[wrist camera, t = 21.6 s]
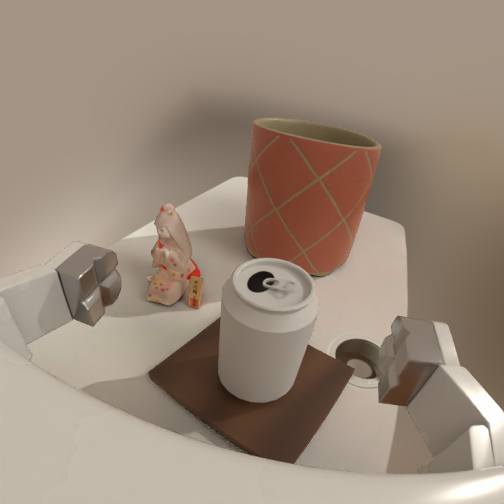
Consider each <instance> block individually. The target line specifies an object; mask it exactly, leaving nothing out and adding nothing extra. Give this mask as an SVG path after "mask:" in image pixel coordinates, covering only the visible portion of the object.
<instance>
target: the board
mask: <svg viewBox="0 0 504 504" xmlns="http://www.w3.org/2000/svg"><path fill="white" fill-rule="evenodd" d="M220 320H221V317H220V318H219V319H218V320H216V321H215V322H214V323H212V324H211V325H210V326H209V327H207V328H206V329H205V330H203V331H202V332H201V333H200V334H198V335H197V336H196V337H194V338H193V339H192V340H190V341H189V342H188V343H187V344H185V345H184V346H183V347H181V348H180V349H179V350H177V351H176V352H175V353H173V354H172V355H171V356H169V357H168V358H167V359H166V360H164V361H163V362H162V363H160V364H159V365H158V366H156V367H155V368H154V369H152V370H151V371H150V372H149V375H150V378H151V379H152V380H153V381H155V382H156V383H157V384H158V385H159V386H160V387H161V388H163V389H164V390H165V391H166V392H167V393H168V394H170V395H171V396H172V397H173V398H174V399H176V400H177V401H178V402H179V403H181V404H182V405H183V406H184V407H186V408H187V409H188V410H189V411H191V412H192V413H193V414H195V415H196V416H197V417H198V418H200V419H201V420H202V421H204V422H205V423H206V424H208V425H209V426H210V427H212V428H213V429H214V430H216V431H217V432H219V433H220V434H221V435H223V436H224V437H226V438H227V439H229V440H230V441H231V442H233V443H234V444H236V445H237V446H239V447H240V448H242V449H243V450H245V451H246V452H248V453H249V454H251V455H253V456H257V457H261V458H266V459H270V460H275V461H280V462H285V463H291V464H294V463H295V462H296V460H297V459H298V458H299V456H300V455H301V453H302V452H303V451H304V449H305V448H306V446H307V445H308V444H309V442H310V441H311V439H312V438H313V436H314V435H315V433H316V432H317V430H318V429H319V427H320V426H321V424H322V423H323V421H324V420H325V418H326V417H327V415H328V414H329V412H330V411H331V409H332V407H333V406H334V404H335V403H336V401H337V399H338V398H339V396H340V394H341V393H342V391H343V389H344V388H345V386H346V384H347V383H348V381H349V379H350V377H351V376H352V374H353V372H354V370H355V369H354V368H352V367H350V366H348V365H346V364H344V363H342V362H340V361H338V360H336V359H335V358H333V357H331V356H329V355H327V354H325V353H323V352H321V351H319V350H317V349H315V348H314V347H312V346H310V345H307V348H306V351H305V354H304V356H303V359H302V362H301V365H300V367H299V370H298V373H297V376H296V378H295V381H294V384H293V386H292V387H291V388H290V390H289V391H288V392H287V393H286V394H285V395H283V396H282V397H280V398H278V399H277V400H273V401H269V402H265V403H261V402H249V401H246V400H243V399H240V398H238V397H236V396H235V395H233V394H232V393H230V392H229V391H228V390H227V389H226V388H225V387H224V385H223V384H222V383H221V380H220V377H219V374H218V360H219V339H220Z"/></svg>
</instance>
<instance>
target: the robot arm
mask: <svg viewBox="0 0 504 504" xmlns="http://www.w3.org/2000/svg"><path fill="white" fill-rule="evenodd" d="M117 265H118V261H117V256H116V254H115V253H114V252H113V251H111V250H107V249H104V248H101V247H97V246H94V245H91V244H87V243H83V242H80V241H74V242H72V243H71V244H70V245H68V246H67V247H66V248H64V249H63V250H62V251H61V252H59V253H58V254H57V255H56V256H54V257H53V258H52V259H51V260H49V261H48V262H47V263H46V264H44V265H37V266H34V267H31V268H28V269H25V270H22V271H19V272H16V273H13V274H10V275H8V276H4V277H1V278H0V504H504V412H503V411H502V410H501V409H500V407H499V406H498V405H497V404H496V403H495V402H494V400H493V399H492V398H491V397H490V396H489V394H488V393H487V392H486V391H485V390H484V389H483V387H482V386H481V385H480V384H479V383H478V382H477V381H476V380H475V378H474V377H473V376H472V375H471V374H470V373H469V372H468V371H467V369H466V368H465V367H460V364H459V360H458V357H457V353H456V350H455V346H454V343H453V340H452V336H451V333H450V330H449V327H448V325H447V324H446V323H441V322H435V321H425V320H419V319H414V318H408V317H402V316H397V317H396V319H395V320H394V322H393V324H392V325H391V331H392V334H391V335H389V336H388V337H386V338H385V339H384V341H383V343H382V345H381V348H380V352H379V355H378V371H379V373H380V374H381V375H382V378H381V380H380V381H379V383H378V391H379V403H384V404H392V405H399V406H407V407H406V409H407V411H408V413H409V414H410V416H411V418H412V420H413V421H414V423H415V425H416V427H417V428H418V430H419V432H420V434H421V436H422V438H423V439H424V441H425V443H426V445H427V447H428V449H429V451H430V452H431V454H432V456H433V459H431V460H430V461H428V462H427V463H426V464H424V465H423V466H421V467H420V468H419V469H418V470H417V474H381V473H363V472H350V471H340V470H331V469H323V468H316V467H309V466H303V465H297V464H291V463H285V462H280V461H275V460H270V459H266V458H261V457H257V456H253V455H248V454H244V453H240V452H237V451H233V450H229V449H225V448H222V447H218V446H215V445H212V444H208V443H205V442H202V441H199V440H196V439H193V438H190V437H187V436H184V435H181V434H178V433H175V432H173V431H170V430H167V429H165V428H162V427H159V426H157V425H154V424H152V423H149V422H147V421H144V420H142V419H140V418H137V417H135V416H133V415H130V414H128V413H126V412H124V411H121V410H119V409H117V408H115V407H113V406H111V405H109V404H106V403H104V402H102V401H100V400H98V399H96V398H94V397H92V396H90V395H88V394H87V393H85V392H83V391H81V390H79V389H77V388H75V387H74V386H72V385H70V384H68V383H66V382H65V381H63V380H61V379H59V378H58V377H56V376H54V375H53V374H51V373H49V372H48V371H46V370H44V369H43V368H41V367H40V366H38V365H37V364H35V363H33V362H32V361H30V360H31V359H32V354H31V352H30V350H29V348H28V346H27V344H29V343H31V342H33V341H34V340H36V339H38V338H40V337H42V336H44V335H46V334H47V333H49V332H51V331H53V330H55V329H57V328H59V327H61V326H62V325H64V324H66V323H68V322H70V321H72V320H73V319H75V320H77V321H80V322H82V323H85V324H87V325H90V326H92V327H93V326H94V325H95V324H96V323H97V322H98V320H99V319H100V318H101V317H102V316H103V315H104V313H105V307H106V306H109V305H111V304H113V303H114V302H115V300H116V299H117V298H118V296H119V293H120V290H121V277H120V275H119V273H118V272H117V270H116V269H115V268H116V266H117Z"/></svg>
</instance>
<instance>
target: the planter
mask: <svg viewBox="0 0 504 504" xmlns="http://www.w3.org/2000/svg"><path fill="white" fill-rule="evenodd" d="M380 152H381V145H380V144H379V143H378V142H377V141H375V140H373V139H371V138H369V137H367V136H364V135H361V134H359V133H356V132H353V131H350V130H347V129H343V128H339V127H335V126H331V125H327V124H322V123H317V122H311V121H305V120H297V119H288V118H260V119H256V120H254V121H253V122H252V134H251V146H250V160H249V173H248V189H247V204H246V220H245V240H246V245H247V249H248V252H249V253H250V254H251V255H252V256H254V257H256V258H258V259H259V258H275V259H281V260H285V261H289V262H291V263H293V264H295V265H297V266H299V267H301V268H302V269H303V270H305V271H306V272H307V273H308V274H309V275H316V276H327V275H328V274H330V273H331V272H332V271H333V270H334V269H336V268H337V267H339V266H341V265H342V264H343V263H344V262H345V261H346V260H347V258H348V256H349V254H350V251H351V248H352V245H353V242H354V239H355V236H356V233H357V230H358V227H359V224H360V221H361V218H362V215H363V211H364V208H365V205H366V202H367V199H368V195H369V192H370V189H371V185H372V182H373V178H374V174H375V171H376V167H377V163H378V159H379V155H380Z"/></svg>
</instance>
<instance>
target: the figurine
mask: <svg viewBox="0 0 504 504" xmlns="http://www.w3.org/2000/svg"><path fill="white" fill-rule="evenodd" d="M154 224H155V225H156V228H157V233H158V235H159V240H158V241H157V243H156V244H155V246H154V247H153V249H152V250H151V254H152V257H153V258H154V261H153V265H152V266H153V267H160V269H159V270H158V273H157V274H156V276H152V275H149V276H147V277H146V280H147V281H150V285H149V290H148V292H147V298H146V299H147V300H148V301H153V302H159V303H161V304H164V305H167V306H170V305H172V304H173V303H175V302H176V301H177V300H178V299H180V297H181V296H182V295H183V293H184V292H185V290H186V288H187V286H188V284H189V281H190V290H189V301H188V305H189V306H191V307H194V308H197V309H199V308H200V301H201V292H202V283H203V279H202V278H200V275H201V274H200V271H199V269H198V267H197V266H196V264H195V263H194V261H193V260H192V259H190V257H191V256H192V248H191V244H190V240H189V237H188V234H187V231H186V229H185V226H184V224H183V222H182V220H181V218H180V217H179V215H178V214H177V212H176V211H175V208H174V206H173V205H172V204H164V205H163V206H162V207H161V211H160V213H159V215H158V216H157V218H156V220H155V223H154ZM190 279H191V280H190Z"/></svg>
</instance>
